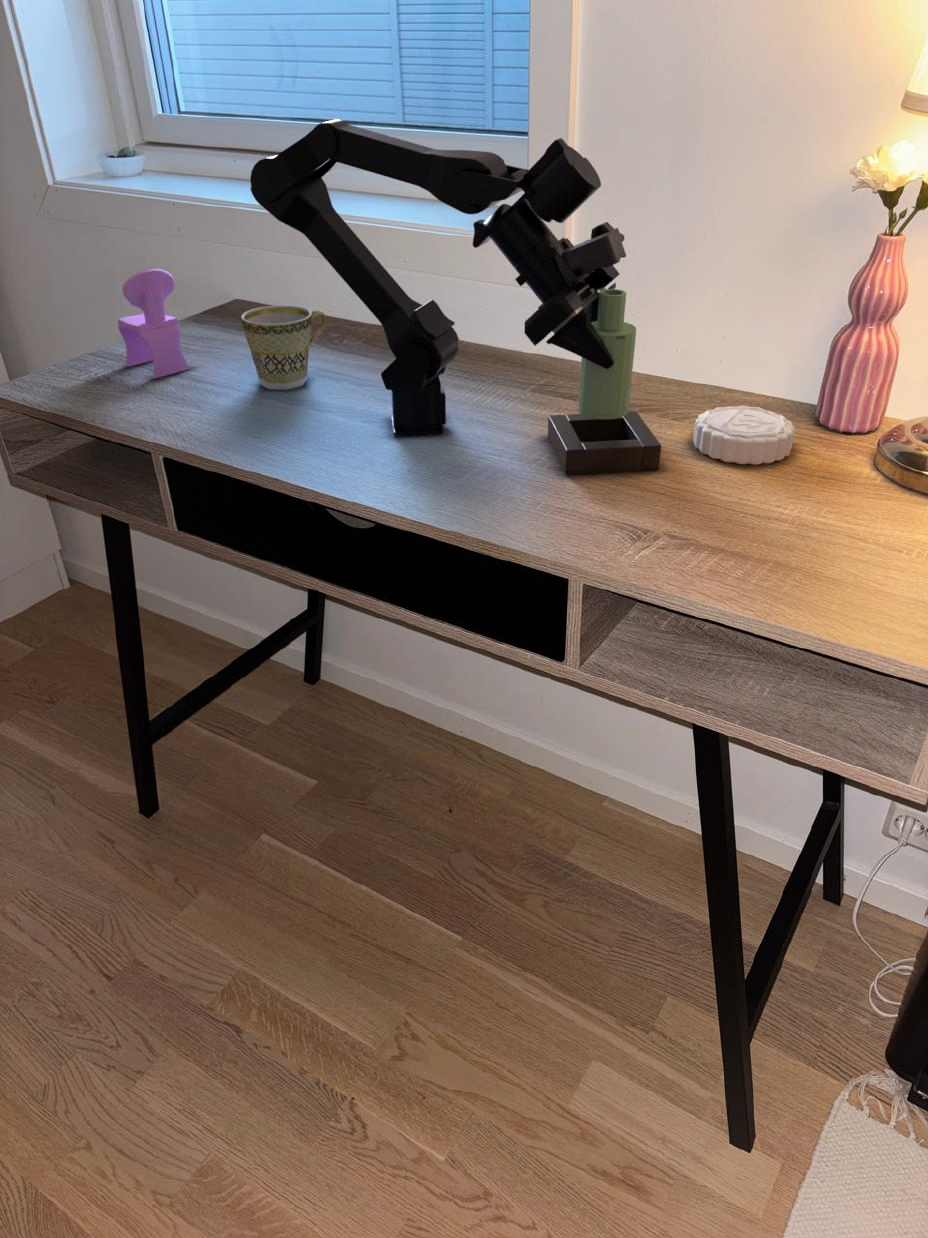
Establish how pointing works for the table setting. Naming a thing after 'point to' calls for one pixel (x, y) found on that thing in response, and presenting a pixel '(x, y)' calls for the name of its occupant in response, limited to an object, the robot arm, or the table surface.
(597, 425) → the holder
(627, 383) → the vase
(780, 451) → the mooncake
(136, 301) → the toy chair
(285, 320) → the ceramic cup
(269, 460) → the table surface
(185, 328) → the table surface
